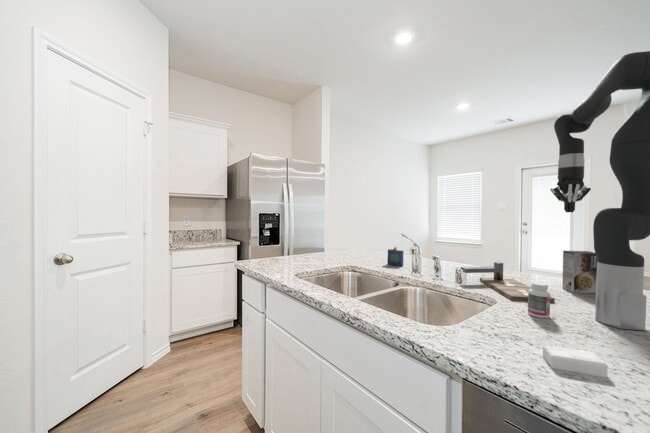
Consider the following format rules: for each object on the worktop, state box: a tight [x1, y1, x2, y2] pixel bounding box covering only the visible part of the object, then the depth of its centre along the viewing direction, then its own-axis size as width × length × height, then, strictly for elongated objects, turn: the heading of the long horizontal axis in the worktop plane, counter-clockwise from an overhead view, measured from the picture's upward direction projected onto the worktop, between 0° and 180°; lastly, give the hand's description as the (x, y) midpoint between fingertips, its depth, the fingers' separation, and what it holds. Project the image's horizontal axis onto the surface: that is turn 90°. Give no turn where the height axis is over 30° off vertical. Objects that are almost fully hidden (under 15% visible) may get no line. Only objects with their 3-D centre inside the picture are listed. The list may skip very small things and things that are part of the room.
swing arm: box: [459, 261, 504, 280], centre depth 123 cm, size 19×4×7 cm, turn 97°
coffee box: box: [561, 250, 598, 294], centre depth 112 cm, size 9×6×16 cm
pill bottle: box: [527, 281, 551, 319], centre depth 85 cm, size 5×5×10 cm
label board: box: [479, 277, 556, 304], centre depth 112 cm, size 28×14×2 cm, turn 172°
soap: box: [542, 344, 609, 378], centre depth 57 cm, size 9×6×3 cm, turn 70°
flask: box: [386, 246, 404, 267], centre depth 161 cm, size 9×3×11 cm, turn 61°
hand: (569, 212), depth 106 cm, fingers closed
